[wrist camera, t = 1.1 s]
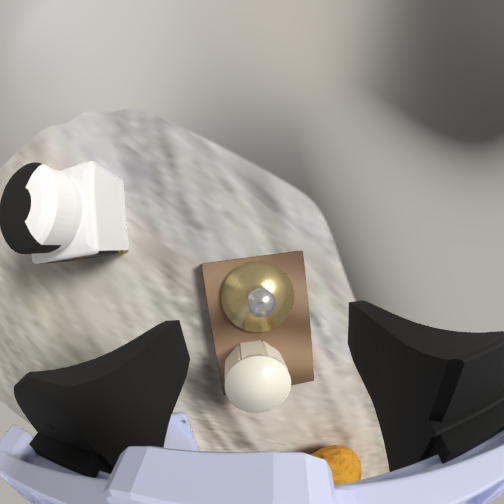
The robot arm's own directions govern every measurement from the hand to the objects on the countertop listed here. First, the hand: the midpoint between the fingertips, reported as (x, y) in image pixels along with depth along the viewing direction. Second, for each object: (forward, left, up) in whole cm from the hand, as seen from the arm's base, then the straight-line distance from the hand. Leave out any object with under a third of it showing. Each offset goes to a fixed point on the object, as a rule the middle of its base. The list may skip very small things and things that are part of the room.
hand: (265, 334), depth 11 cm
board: (-4, -1, -14) cm, 15 cm away
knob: (-1, -1, -13) cm, 13 cm away
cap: (-8, 0, -13) cm, 15 cm away
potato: (-26, -7, -15) cm, 31 cm away
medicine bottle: (+8, +14, -15) cm, 22 cm away
